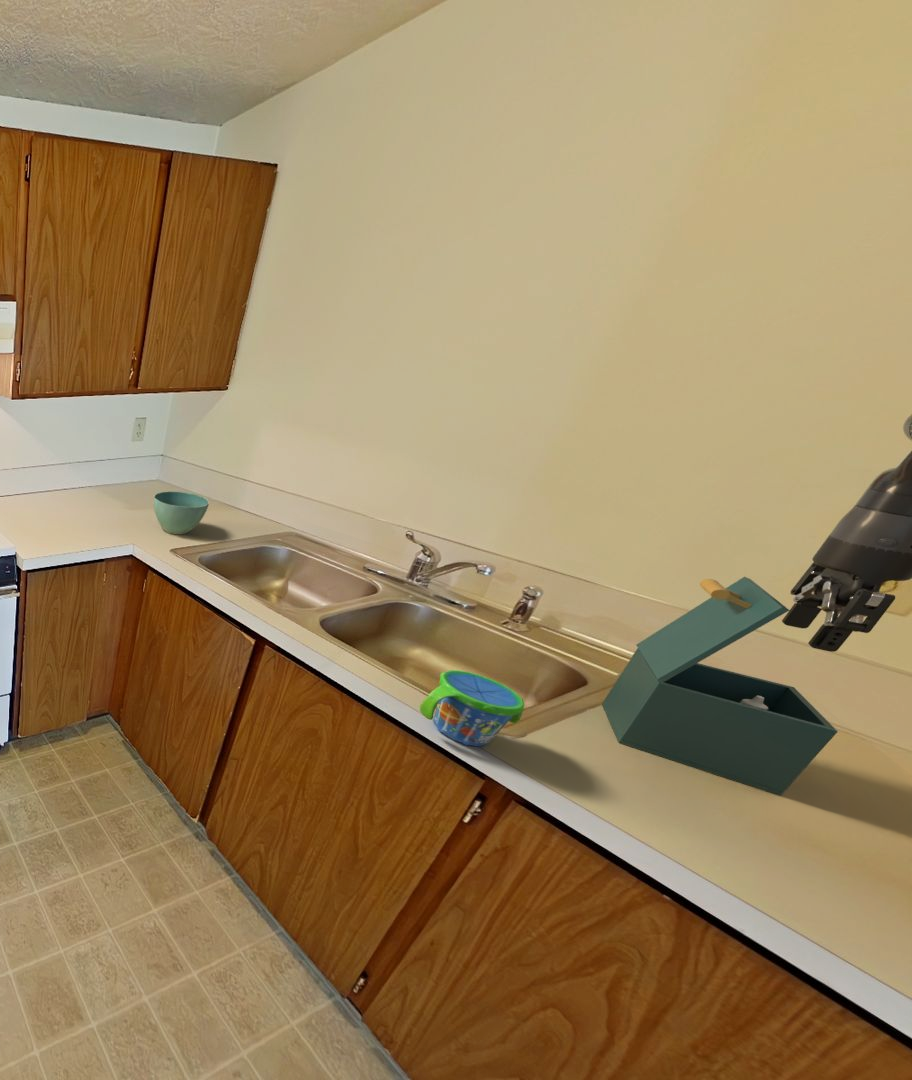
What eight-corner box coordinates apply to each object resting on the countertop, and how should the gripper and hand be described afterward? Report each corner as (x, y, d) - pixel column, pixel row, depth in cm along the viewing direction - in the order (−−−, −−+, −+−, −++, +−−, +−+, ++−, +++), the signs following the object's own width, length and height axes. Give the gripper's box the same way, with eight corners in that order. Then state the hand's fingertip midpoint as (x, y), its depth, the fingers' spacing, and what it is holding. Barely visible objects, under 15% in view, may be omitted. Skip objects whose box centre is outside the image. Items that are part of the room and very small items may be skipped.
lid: (751, 579, 84) (709, 561, 86) (789, 610, 74) (741, 589, 77) (641, 647, 94) (606, 630, 96) (663, 682, 84) (624, 662, 87)
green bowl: (184, 543, 173) (190, 510, 168) (138, 528, 187) (143, 496, 182) (212, 532, 183) (219, 500, 178) (167, 518, 197) (172, 488, 192)
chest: (745, 747, 89) (794, 687, 84) (780, 796, 80) (838, 731, 75) (601, 704, 99) (637, 648, 94) (618, 742, 90) (658, 682, 85)
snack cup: (483, 717, 96) (506, 673, 92) (533, 760, 86) (561, 713, 82) (393, 708, 98) (411, 665, 94) (431, 749, 88) (454, 703, 84)
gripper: (968, 564, 65) (879, 668, 71) (899, 533, 74) (826, 627, 81) (860, 549, 69) (785, 647, 75) (808, 522, 79) (745, 611, 85)
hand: (806, 636), depth 78 cm, fingers open, 8 cm apart
